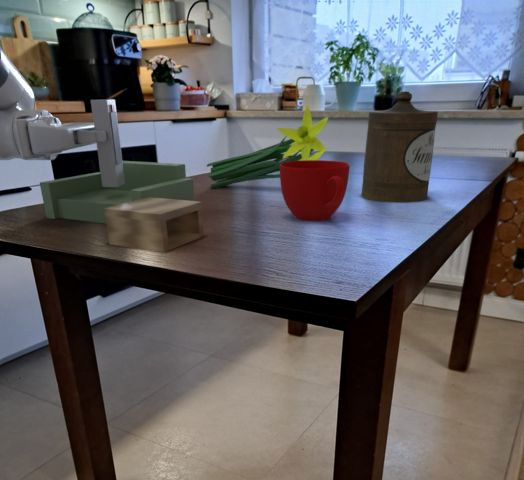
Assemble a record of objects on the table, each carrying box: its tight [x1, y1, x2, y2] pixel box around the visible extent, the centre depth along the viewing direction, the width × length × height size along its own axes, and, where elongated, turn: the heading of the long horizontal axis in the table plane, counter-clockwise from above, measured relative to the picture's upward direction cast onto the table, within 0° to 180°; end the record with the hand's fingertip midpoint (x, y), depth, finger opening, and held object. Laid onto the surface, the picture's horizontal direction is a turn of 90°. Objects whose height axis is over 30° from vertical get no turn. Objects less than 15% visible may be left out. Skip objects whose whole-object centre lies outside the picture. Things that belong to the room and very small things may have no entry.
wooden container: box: [361, 91, 438, 203], centre depth 115 cm, size 15×15×22 cm
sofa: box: [39, 160, 196, 224], centre depth 102 cm, size 25×17×10 cm
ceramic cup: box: [279, 159, 350, 222], centre depth 97 cm, size 13×17×10 cm
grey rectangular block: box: [90, 99, 125, 187], centre depth 97 cm, size 3×4×15 cm
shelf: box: [104, 197, 204, 253], centre depth 84 cm, size 11×11×6 cm
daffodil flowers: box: [206, 105, 329, 190], centre depth 127 cm, size 17×15×35 cm
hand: (112, 135), depth 96 cm, fingers closed on grey rectangular block, 4 cm apart
